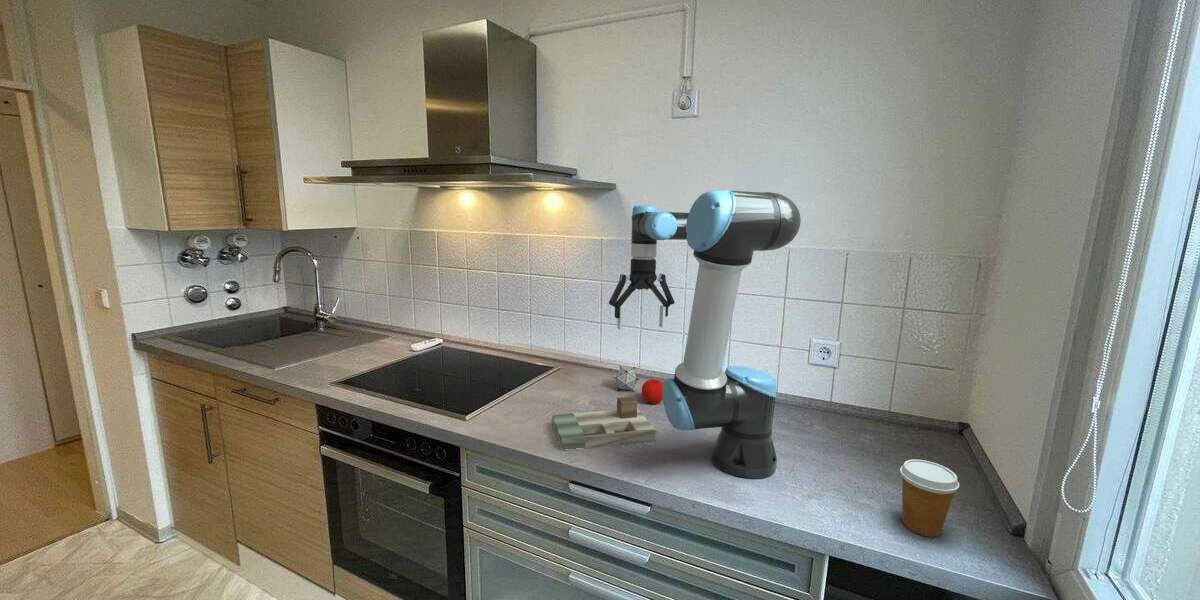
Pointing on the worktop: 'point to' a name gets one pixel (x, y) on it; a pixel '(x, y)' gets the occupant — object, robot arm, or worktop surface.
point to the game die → (626, 378)
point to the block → (626, 407)
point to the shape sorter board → (601, 429)
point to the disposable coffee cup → (926, 496)
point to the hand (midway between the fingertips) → (641, 328)
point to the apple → (652, 391)
